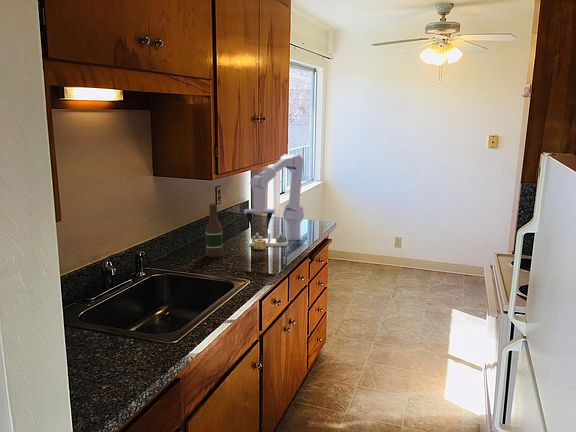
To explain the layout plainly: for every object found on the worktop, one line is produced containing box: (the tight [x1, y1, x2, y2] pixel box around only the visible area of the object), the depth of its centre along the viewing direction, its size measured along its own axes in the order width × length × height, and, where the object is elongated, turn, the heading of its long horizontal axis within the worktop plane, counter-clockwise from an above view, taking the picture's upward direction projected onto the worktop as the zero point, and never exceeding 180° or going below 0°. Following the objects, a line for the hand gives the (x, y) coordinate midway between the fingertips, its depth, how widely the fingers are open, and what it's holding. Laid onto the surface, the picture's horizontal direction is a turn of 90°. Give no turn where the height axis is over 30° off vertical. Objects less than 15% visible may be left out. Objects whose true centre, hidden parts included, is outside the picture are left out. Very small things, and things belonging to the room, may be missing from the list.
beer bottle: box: [204, 203, 224, 258], centre depth 222 cm, size 8×8×24 cm
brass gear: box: [253, 238, 267, 250], centre depth 236 cm, size 6×6×4 cm
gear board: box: [249, 232, 289, 247], centre depth 243 cm, size 9×19×6 cm, turn 88°
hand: (259, 228), depth 234 cm, fingers open, 7 cm apart
